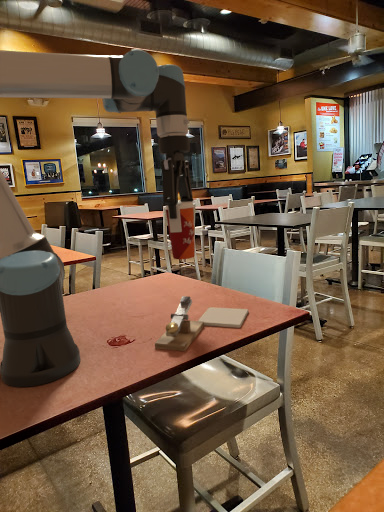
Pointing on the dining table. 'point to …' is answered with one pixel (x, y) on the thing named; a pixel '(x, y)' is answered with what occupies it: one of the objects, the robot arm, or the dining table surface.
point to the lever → (179, 317)
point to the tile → (224, 317)
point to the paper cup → (183, 232)
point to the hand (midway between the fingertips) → (181, 229)
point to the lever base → (180, 336)
